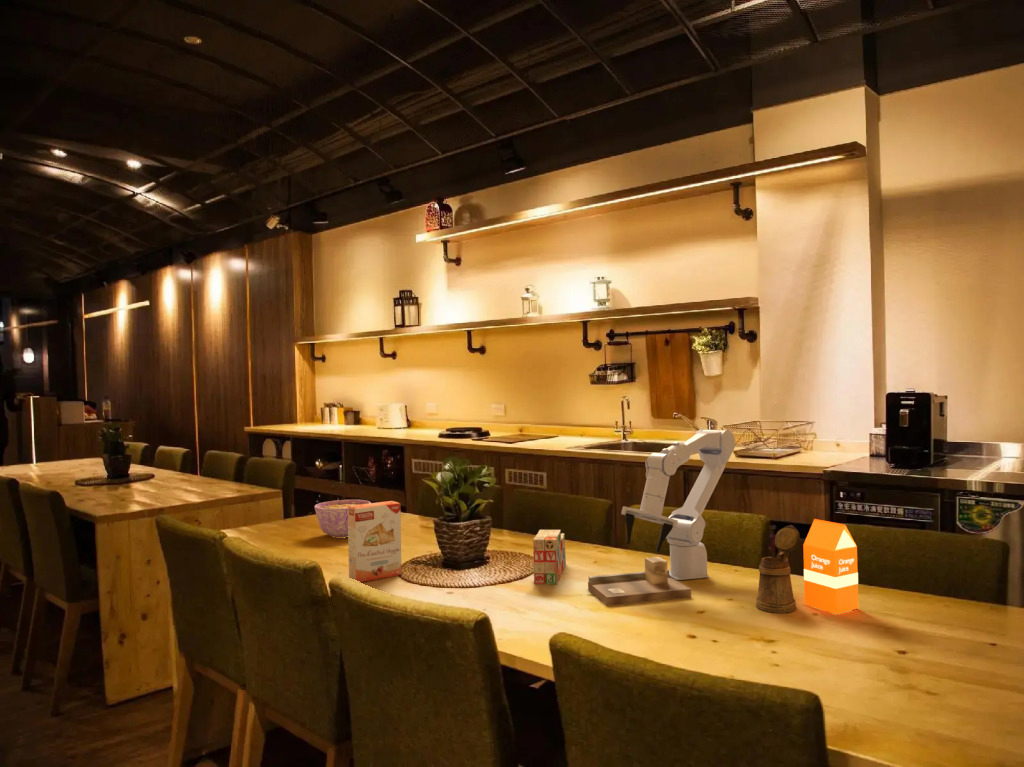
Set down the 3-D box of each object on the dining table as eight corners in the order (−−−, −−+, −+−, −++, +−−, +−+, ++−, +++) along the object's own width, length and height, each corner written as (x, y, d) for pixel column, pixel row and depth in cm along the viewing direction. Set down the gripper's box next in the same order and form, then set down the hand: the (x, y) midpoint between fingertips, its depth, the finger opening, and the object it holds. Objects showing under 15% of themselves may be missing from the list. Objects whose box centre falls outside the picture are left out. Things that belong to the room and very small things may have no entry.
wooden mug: (812, 602, 173) (810, 527, 173) (784, 616, 164) (782, 536, 164) (776, 594, 179) (774, 522, 179) (748, 607, 170) (746, 531, 170)
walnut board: (666, 582, 193) (666, 568, 193) (691, 597, 179) (690, 582, 179) (588, 589, 188) (587, 576, 188) (607, 605, 174) (606, 591, 174)
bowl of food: (365, 541, 253) (364, 508, 253) (308, 542, 253) (307, 509, 253) (376, 529, 273) (375, 498, 273) (323, 530, 273) (323, 500, 273)
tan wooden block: (659, 577, 190) (658, 556, 190) (668, 583, 185) (667, 561, 185) (645, 579, 189) (644, 558, 189) (653, 584, 184) (653, 562, 184)
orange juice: (836, 615, 163) (834, 526, 163) (804, 605, 171) (802, 520, 171) (859, 609, 167) (857, 522, 167) (826, 599, 175) (824, 516, 175)
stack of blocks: (545, 564, 216) (544, 522, 216) (566, 564, 215) (565, 523, 215) (533, 584, 195) (532, 538, 195) (557, 585, 194) (555, 539, 194)
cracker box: (356, 584, 199) (354, 508, 199) (348, 579, 204) (346, 505, 204) (403, 575, 207) (401, 502, 207) (393, 571, 212) (391, 499, 212)
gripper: (627, 488, 188) (615, 539, 185) (683, 502, 186) (672, 555, 182) (626, 491, 195) (614, 541, 191) (680, 505, 192) (669, 556, 189)
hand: (642, 548), depth 187 cm, fingers open, 7 cm apart
